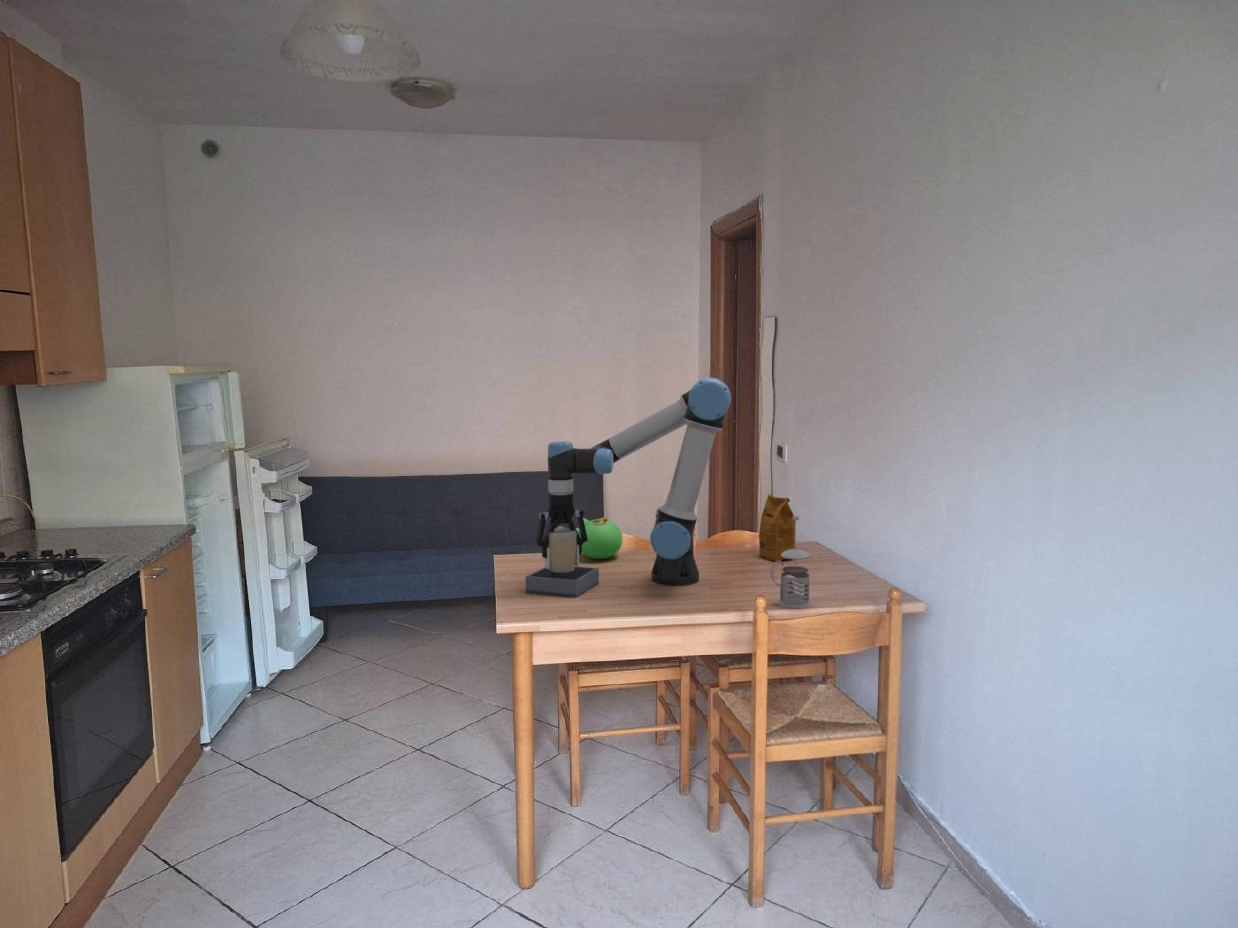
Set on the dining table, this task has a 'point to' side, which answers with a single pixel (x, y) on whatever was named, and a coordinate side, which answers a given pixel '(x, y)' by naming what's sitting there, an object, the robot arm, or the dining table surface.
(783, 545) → the coffee package
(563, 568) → the coffee cup
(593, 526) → the green round figure
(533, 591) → the bin
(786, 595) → the french press
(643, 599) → the dining table surface
